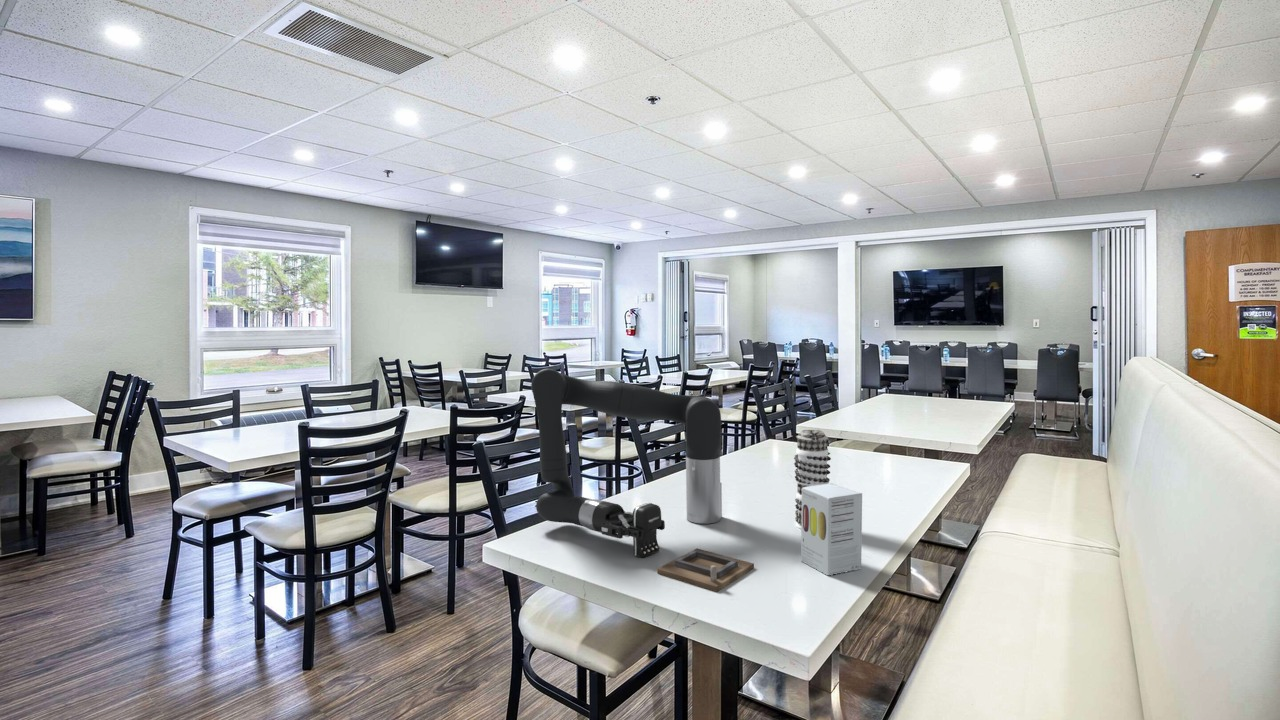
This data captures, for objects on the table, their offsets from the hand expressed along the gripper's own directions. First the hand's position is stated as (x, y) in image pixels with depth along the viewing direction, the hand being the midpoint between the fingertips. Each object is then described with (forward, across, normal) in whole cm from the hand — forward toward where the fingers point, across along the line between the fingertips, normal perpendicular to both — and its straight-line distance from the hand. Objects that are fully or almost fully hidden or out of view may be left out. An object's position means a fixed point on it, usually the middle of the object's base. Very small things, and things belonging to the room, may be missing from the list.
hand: (653, 529), depth 141 cm
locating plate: (+14, 0, +6) cm, 16 cm away
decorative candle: (+20, +41, +6) cm, 46 cm away
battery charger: (-2, 0, +6) cm, 6 cm away
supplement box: (+34, +19, +6) cm, 40 cm away
